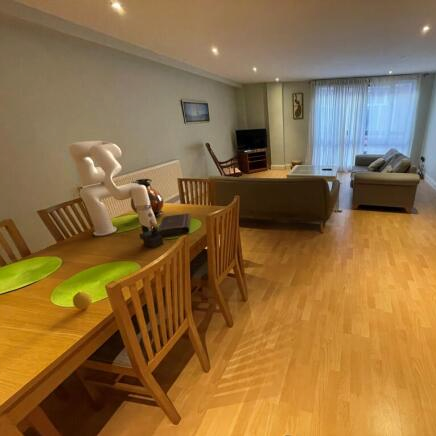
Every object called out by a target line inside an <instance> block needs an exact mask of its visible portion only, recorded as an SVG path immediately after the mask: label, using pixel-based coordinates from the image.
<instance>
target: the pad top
mask: <svg viewBox="0 0 436 436" xmlns="http://www.w3.org/2000/svg"><path fill="white" fill-rule="evenodd" d="M151 231H152V230H151V229H149V231H147V232H145V233H143V232H142V233H139V235H138V236H139V239H140V240H142V241H143V240H145V241H147V240H149V239H152V238H154V237H152V233H151ZM157 232H158V236H160V235H162V230H159V229H158V228H157ZM156 237H157V236H156Z"/></svg>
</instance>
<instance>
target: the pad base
mask: <svg viewBox="0 0 436 436" xmlns="http://www.w3.org/2000/svg"><path fill="white" fill-rule="evenodd" d="M142 241H143V245H145V246H148V247H150V248H152V249H155V248H157V247H159V246H162V245H164V242H163V239H162V240H161V241H159V242H157V243H154V244H151V243H148V242H146V241H144V240H143V239H142Z"/></svg>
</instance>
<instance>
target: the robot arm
mask: <svg viewBox="0 0 436 436" xmlns="http://www.w3.org/2000/svg"><path fill="white" fill-rule="evenodd" d="M67 150H68V153H69V155H70V156H69V157H71V159H72V160H73V162H74V165H75V170H76V173H77V176H78V179H79V181H80V184H82V185H84V186H85V187H82V188H80V189H79V192H78V193H79V196H80V198H81V199H82V201H83V203H84V204H85V207H86V209H87V211H88V215H89V217H90V220H91V222H92V225H93V228H94V230H95V231H94V232H93V235H94V236H95V237H104V236H109V235H110V234H113V233H115V232H117V229H118V228H117V227H116V226H113V223H112V220H111V217H110V212H109V211H108V208H107V206H106V204H105V203H103V202H102V200H104V199H107V198H110V197H113V198H114V199H115V200H117V201H125V200H128V199H131V197H132V198H133V201H134V205H135V208H136V211H137V213H138V214H137V213H136V214H137V218H138V221H139V224H140V227H141V230H142V233H145V232H147V231H150V230H152V231H151V233H152V237H156V236H158V232H157V229H158V223H157V219H156V218H155V216H154V213H153V211H152V208H151V204H150V200H149V197H148V193H147V189H146V187H145V186H144V185H139V184H137V183H132V182H131V183H127V184H126V183H125V184H122V185H119V186H117V185H116V184H115V183H114V181H113V177H115V176H116V175H118V174H119V173H121V171H122V165H121V164H120V163H119V162H118V160H117V159H120V158H121V157H122V155H123V154H122V150H121V148H120V147H119V146H118V145H117V144H115V143H114V142H109V141H105V140H88V141H76V142H72V143H70V144H69V145H68V147H67ZM93 160H94V161H95V163H96V164H97V165H98V166H95V163H94V161H93Z"/></svg>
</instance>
